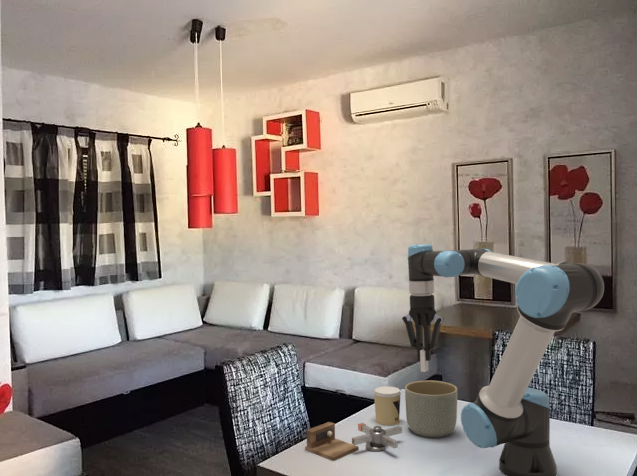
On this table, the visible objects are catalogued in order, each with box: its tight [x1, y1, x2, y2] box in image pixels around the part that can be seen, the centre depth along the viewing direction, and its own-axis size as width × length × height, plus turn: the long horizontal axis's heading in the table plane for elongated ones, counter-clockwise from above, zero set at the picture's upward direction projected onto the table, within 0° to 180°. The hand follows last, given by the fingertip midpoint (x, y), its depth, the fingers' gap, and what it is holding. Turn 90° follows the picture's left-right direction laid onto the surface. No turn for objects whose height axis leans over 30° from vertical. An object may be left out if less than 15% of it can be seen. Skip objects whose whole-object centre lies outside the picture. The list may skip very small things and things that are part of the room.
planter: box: [404, 379, 458, 438], centre depth 194 cm, size 17×17×15 cm
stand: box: [304, 421, 359, 462], centre depth 180 cm, size 20×21×7 cm
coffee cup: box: [373, 385, 402, 426], centre depth 203 cm, size 9×9×12 cm
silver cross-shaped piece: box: [351, 422, 403, 453], centre depth 181 cm, size 18×18×6 cm
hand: (424, 370), depth 181 cm, fingers closed
